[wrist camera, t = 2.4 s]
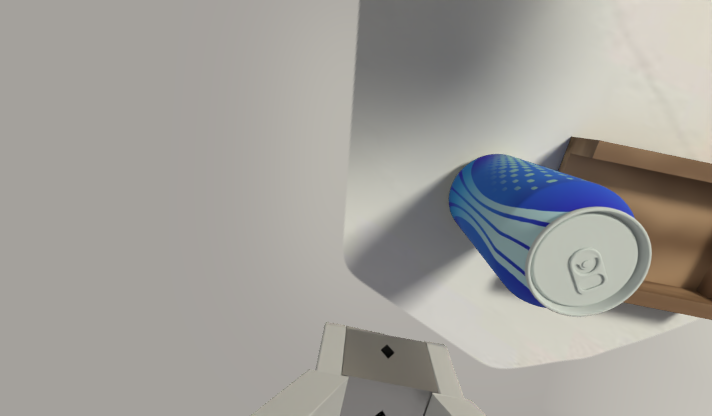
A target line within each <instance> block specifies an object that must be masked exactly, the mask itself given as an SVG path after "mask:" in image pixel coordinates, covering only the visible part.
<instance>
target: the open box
mask: <svg viewBox="0 0 712 416" xmlns="http://www.w3.org/2000/svg"><path fill="white" fill-rule="evenodd" d="M558 172H562V173H565V174H568V175H571V176H574V177H577V178H580V179H583V180H586V181H589V182H592V183H596V184H599V185H601V186H603V187H606V188H608V189H609V190H611V191H613V192H614V193H616V194H617V195H618V196H620V197H621V198H622V199H623V200H624V201H625V203H626V204H627V205H628V206H629V208H630V209H631V211H632V213H633V215H634V217H635V219H636V220H637V221H638V222H639V223H640V224H641V225H642V226H643V228H644V229H645V231H646V232H647V234H648V237H649V239H650V243H651V250H652V256H651V263H650V267H649V270H648V273H647V275H646V277H645V279H644V280H643V282H642V284H641V285H640V286H639V288H638V289H637V290H636V291H635V292H634V293H633V294H632V295H631V296H630V297H629V298H628V299H626V300H625V301H624V302H625V303H630V304H635V305H640V306H645V307H650V308H655V309H660V310H665V311H670V312H675V313H680V314H685V315H690V316H695V317H700V318H705V319H710V320H712V164H710V163H705V162H700V161H696V160H691V159H686V158H681V157H676V156H672V155H667V154H662V153H657V152H652V151H647V150H643V149H638V148H633V147H628V146H623V145H619V144H614V143H609V142H604V141H599V140H592V139H584V138H576V137H571V139H570V142H569V145H568V147H567V150H566V152H565V155H564V158H563V160H562V163H561V165H560V168H559V171H558Z"/></svg>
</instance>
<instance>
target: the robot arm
mask: <svg viewBox="0 0 712 416" xmlns="http://www.w3.org/2000/svg"><path fill="white" fill-rule="evenodd" d="M251 416H486V415H485V414H484V413H483V412H482V411H481V410H480V409H479V408H478V407H477V406H476V405H475V404H474V403H473V402H472V401H471V400H468V399H464V396H463V393H462V390H461V387H460V385H459V382H458V379H457V376H456V373H455V370H454V367H453V364H452V361H451V358H450V356H449V353H448V350H447V347H446V346H445V345H444V344H439V343H432V342H426V341H424V342H422V341H416V340H411V339H406V338H400V337H394V336H389V335H385V334H381V333H377V332H372V331H368V330H363V329H359V328H353V327H349V326H346V327H345V325H339V324H334V323H329V322H326V324H325V326H324V331H323V336H322V341H321V345H320V350H319V355H318V361H317V365H316V370H310V369H309V370H308V371H306V372H305V373H304V374H302V375H301V376H300V377H299V378H297V379H296V380H295V381H294V382H292V383H291V384H290V385H289V386H287V387H286V388H285V389H283V390H282V391H281V392H280V393H278V394H277V395H276V396H275V397H273V398H272V399H271V400H270V401H268V402H267V403H266V404H265V405H263V406H262V407H261V408H259V409H258V410H257V411H256V412H255V413H253V414H252V415H251Z"/></svg>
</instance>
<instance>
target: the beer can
mask: <svg viewBox="0 0 712 416" xmlns="http://www.w3.org/2000/svg"><path fill="white" fill-rule="evenodd" d="M449 207H450V211H451V214H452V216H453V218H454V220H455V222H456V223H457V224H458V225H459V227H460V228H461V229H462V231H463V232H464V233H465V235H466V236H467V237H468V238H469V240H470V241H471V242H472V244H473V245H474V246H475V247H476V249H477V250H478V251H479V253H480V254H481V255H482V256H483V258H484V259H485V260H486V262H487V263H488V264H489V265H490V267H491V268H492V269H493V271H494V272H495V273H496V275H497V276H498V277H499V278H500V280H501V281H502V282H503V284H504V285H505V286H506V287H507V288H508V289H509V290H510V291H511V292H512V293H513V294H514V295H516V296H517V297H518V298H520V299H522V300H524V301H525V302H528V303H530V304H533V305H536V306H539V307H544V308H548V309H549V310H551V311H554V312H556V313H559V314H562V315H567V316H577V317H581V316H591V315H595V314H599V313H603V312H605V311H608V310H610V309H612V308H614V307H616V306H618V305H619V304H621V303H622V302H624V301H625V300H626V299H628V298H629V297H630V296H631V295H632V294H633V293H634V292H635V291H636V290H637V289H638V288H639V286H640V285H641V284H642V282H643V280H644V279H645V277H646V275H647V273H648V270H649V267H650V263H651V256H652V250H651V243H650V239H649V237H648V234H647V232H646V231H645V229H644V228H643V226H642V225H641V224H640V223H639V222H638V221H637V220H636V219H635V217H634V215H633V213H632V211H631V209H630V208H629V206H628V205H627V204H626V203H625V201H624V200H623V199H622V198H621V197H620V196H618V195H617V194H616V193H614V192H613V191H611V190H609V189H608V188H606V187H603V186H601V185H599V184H596V183H592V182H589V181H586V180H583V179H580V178H577V177H574V176H571V175H568V174H565V173H562V172H558V171H555V170H552V169H549V168H546V167H543V166H540V165H537V164H534V163H531V162H527V161H524V160H521V159H518V158H515V157H512V156H509V155H504V154H491V155H486V156H483V157H480V158H477V159H475V160H473V161H472V162H470V163H469V164H467V165H466V166H465V167H464V168H463V169H462V170H461V171H460V172H459V173H458V175H457V176H456V178H455V179H454V181H453V183H452V186H451V189H450V193H449Z"/></svg>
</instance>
